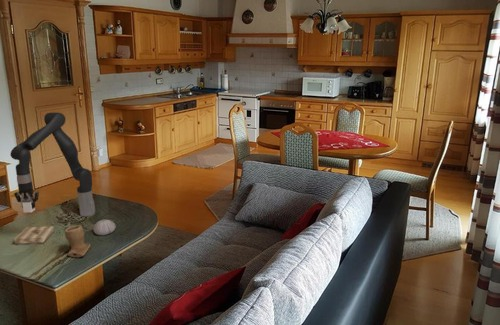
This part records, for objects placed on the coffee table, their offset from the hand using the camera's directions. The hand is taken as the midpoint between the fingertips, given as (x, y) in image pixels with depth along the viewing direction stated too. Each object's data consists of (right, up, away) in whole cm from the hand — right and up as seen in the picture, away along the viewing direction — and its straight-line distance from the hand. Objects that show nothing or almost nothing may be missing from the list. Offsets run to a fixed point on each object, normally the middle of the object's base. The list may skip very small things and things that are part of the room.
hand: (28, 208), depth 244 cm
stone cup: (+35, -24, -13) cm, 44 cm away
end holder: (+1, -19, +4) cm, 20 cm away
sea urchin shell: (+41, -17, +13) cm, 46 cm away
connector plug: (0, -2, 0) cm, 2 cm away
